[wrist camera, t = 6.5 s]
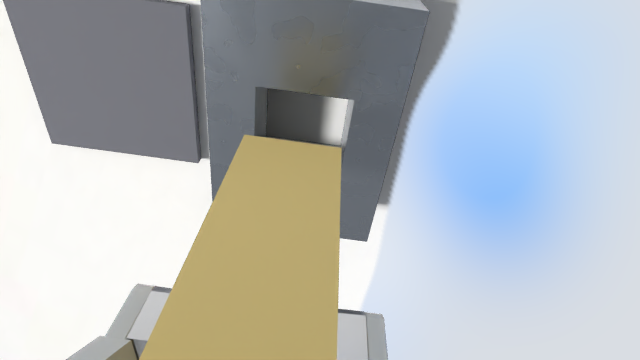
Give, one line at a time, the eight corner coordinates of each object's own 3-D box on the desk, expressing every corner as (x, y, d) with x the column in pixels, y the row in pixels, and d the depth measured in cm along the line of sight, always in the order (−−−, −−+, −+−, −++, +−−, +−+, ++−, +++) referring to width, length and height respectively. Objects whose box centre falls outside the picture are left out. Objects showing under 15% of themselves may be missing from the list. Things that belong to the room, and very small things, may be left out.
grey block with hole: (224, -33, 19) (199, -23, 16) (415, -5, 19) (429, 11, 16) (229, 185, 27) (213, 221, 24) (364, 203, 27) (367, 241, 24)
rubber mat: (4, -23, 20) (-5, -22, 19) (189, 4, 20) (185, 6, 20) (57, 139, 26) (52, 143, 25) (200, 158, 26) (198, 162, 25)
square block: (244, 134, 15) (124, 389, 7) (341, 147, 15) (335, 414, 7) (244, 209, 17) (154, 465, 9) (328, 219, 17) (312, 483, 9)
